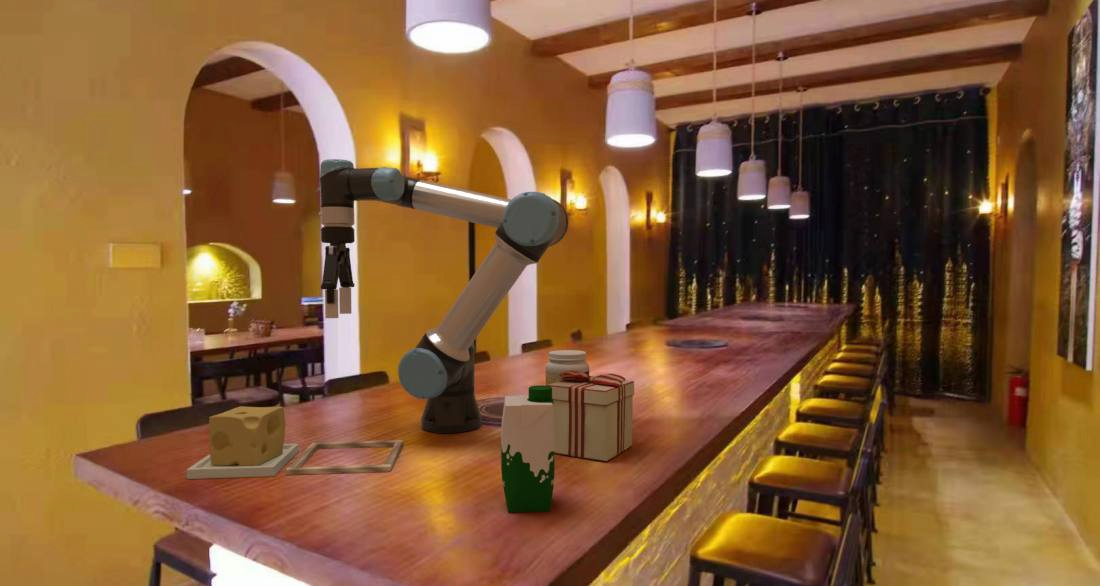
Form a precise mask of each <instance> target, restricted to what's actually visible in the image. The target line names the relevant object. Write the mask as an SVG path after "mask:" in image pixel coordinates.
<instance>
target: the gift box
mask: <svg viewBox="0 0 1100 586" xmlns="http://www.w3.org/2000/svg"><path fill="white" fill-rule="evenodd" d="M559 376H561V377H563V378H560V379H563V380H561V381H558V382H555V383H552V384H548V385H546V384H545V386H550V387H552V398H553V411H554V431H555V455H556V454H557V455H564V456H569V457H576V458H580V459H587V460H595V461H601V462H608V461H609V460H611V459H612V458H615V457H616V456H618V455H620V454H621V452H622V453H624V452H625V451H626V450H627V448H628V449H630V448H631V447H633V411H634V410H633V407H634V406H633V404H634V403H633V401H634V400H633V399H634V398H633V397H634V395H635V381H633V380H629V379H628V380H627V379H626V377H624V376H622V375H619V374H616V373H605V374H603V373H602V374H599V375H596V376H593V375H590V374H589V375H588V374H586V373H584V372H581V371H577V370H569V371H565V372H563V373H561V374H560V375H559ZM630 446H631V447H630ZM629 447H630V448H629ZM624 450H625V451H624Z"/></svg>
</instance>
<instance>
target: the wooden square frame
mask: <svg viewBox="0 0 1100 586" xmlns="http://www.w3.org/2000/svg"><path fill="white" fill-rule="evenodd" d="M403 446H404V440H403V439H398V440H397V439H394V440H393V439H391V440H390V439H389V440H361V441H360V440H359V441H358V440H357V441H354V440H353V441H321V442H320V441H319V442H318V441H317V442H312V443H310V445H308V446H307V448H306V449H304V451H303V452H301V454H300V455H299V456H298V457H296V459H294V461H293V462H292V463H291V464H290V465H288V466H287V468H285V470H284V472H285V476H297V475H302V476H303V475H325V474H326V475H329V474H331V475H332V474H334V475H335V474H357V473H358V474H361V473H365V474H366V473H387V472H389V473H390V472H391V471H392V469H393V467H394V465H395V463H396V461H397V459H398V457H399V454H400V452H401V451H402V448H403ZM378 447H379V448H385V447H386V448H388V447H389V448H390V447H392V448H391V451H390V452H389V454H388V455H387V458H386V459H385V462H384V463H383V464H361V465H359V464H358V465H357V464H355V465H329V466H327V465H326V466H325V465H324V466H303V465H305V463H306V462H307V461H308V460H309V459H310V458H311V457H312V456H313V455H314V453H315V452H316V451H317V450H319V449H321V450H322V449H351V448H355V449H357V448H358V449H359V448H378ZM302 466H303V467H302Z"/></svg>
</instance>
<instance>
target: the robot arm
mask: <svg viewBox="0 0 1100 586" xmlns="http://www.w3.org/2000/svg"><path fill="white" fill-rule="evenodd" d="M319 168H320V172H319V178H318V179H319V185H320V186H319V187H320V211H319V212H318V214H317V215H318V216H319V217H320V224H321V225H323V226H322V227H321V228H320V240H321V243H323V244H329V245H325V248H324V249H325V253H324V254H325V255H324V256H325V257H324V265H323V274H322V282H321V285H320V289H321V290H324V300H325V301H324V302H325V304H324V308H325V309H324V311H325V315H324V316H325V319H339V315H342V314H343V315H345V314H346V315H351V314H352V288H355V282H354V277H353V273H352V272H353V270H352V263H351V255H350V253H351V252H350V251H351V249H350V247H347V246H346V245H347V244H353V243H354V242H355V228H354V227H353V226H354V225H355V202H361V201H363V202H365V201H367V202H368V201H375V202H379V203H380V202H382V203H386V204H391V205H395V206H398V207H402V208H406V209H407V208H408V209H413V210H417V211H422V212H426V213H430V214H434V215H439V216H443V217H447V218H452V219H456V220H460V221H465V222H469V223H474V224H478V225H482V226H487V227H490V228H495V229H496V230H495V231H494V238H495V244H494V245H493V247H492V248H491V250H490V251H489V252H488V254H487V255H486V257H485V258H484V260H483V261H482V263H481V264H480V265H479V267H478V268H477V269H476V271H475V273H474V274H473V275H472V277H471V279H469V281H468V283H467V284H466V286H465V287H464V289H462V292H460V294H459V296H458V297H457V299H456V300H455V302H454V303H453V304H452V306H451V307H450V309H449V310H448V312H447V313H446V315H445V316H444V318H443V319H441V320H442V321H441V322H440V323H439V324H438V326H437V327H434V328H429V329H427V330H426V332H425V333H424V335H423V336H422V338H421V339H420V340H419V342H418V343H417V345H416V346H415V347H414V348H412V349H410V350H409V351H407V352H406V353H405V354H404V355H403V356H402V357H401V359H400V361H399V363H398V366H397V375H398V380H399V383H400V385H401V387H402V388H403V389H404V391H406V392H407V394H408V395H410V396H411V397H413V398H415V399H419V400H426V403H425V405H424V408H423V412H422V415H421V419H420V420H421V421H420V422H421V425H420V427H421V429H422V430H424V431H427V432H430V433H437V434H456V433H457V434H458V433H464V432H466V433H467V432H470V431H471V432H472V431H474V430H476V429H479V428H480V427H481V426H482V425H483V423H482V421H483V420H482V414H481V411H480V407H479V404H478V402H477V398H476V395H475V352H476V348H475V340H476V338H477V337H478V336H479V334H480V333H481V331H482V330H483V328H484V327H485V325H486V324H487V323H488V322H489V320H490V319H491V317H492V316H493V314H494V313H495V311H496V310H497V309H498V308H499V306H500V305H501V303H502V302H503V300H504V299H505V297H506V296H507V295H508V293H509V292H510V291H511V289H512V287H514V285H515V283H516V282H517V280H518V279H519V278H520V277H521V275H522V274H523V272H524V271H525V269H526V268H527V267H528V266H529V265H535V264H538V263H539V261H540V260H541V258H542V257H543V256H544V254H545V253H546V251H547V250H548V249H549V247H553V246H555V245H557V244H558V243H560V242H561V241H562V240H563V239H564V237H565V236H566V234H567V232H568V230H569V225H570V224H569V222H570V221H569V216H568V212H567V211H566V209H565V207H564V205H562V204H561V203H560V202H559V201H557V200H556V199H554V198H552V197H551V196H549V195H547V194H546V193H544V192H540V191H539V192H538V191H525V192H521V193H519V194H518V195H515V196H514V197H513V198H511V199H510V198H505V197H501V196H496V195H492V194H488V193H483V192H477V191H474V190H469V189H465V188H464V189H463V188H461V187H455V186H451V185H446V184H442V183H441V184H440V183H437V182H432V181H427V180H421V179H419V178H413V177H409V176H405V175H403V173H401V170H399V168H397V167H387V166H380V167H367V168H366V167H364V168H362V167H361V168H355V167H354V163H353V162H352V161H351V160H348V159H343V158H342V159H340V158H339V159H336V158H329V159H328V158H327V159H325V160H323V161H321V163H320V167H319ZM338 281H339V283H338ZM338 284H339V285H340V287H339V289H337V288H338Z"/></svg>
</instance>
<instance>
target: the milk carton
mask: <svg viewBox="0 0 1100 586" xmlns="http://www.w3.org/2000/svg"><path fill="white" fill-rule="evenodd" d="M501 416H502V418H501V427H500V428H501V429H500V443H501V444H500V462H501V463H500V467H501V468H500V471H501V480H502V487H503V493H504V498H505V503H506V508H507V509H506V510H507V513H510V514H511V513H535V512H538V513H539V512H551V510H552V501H553V496H554V495H553V494H554V492H553V491H554V485H555V470H556V469H555V467H556V463H555V462H556V461H555V460H556V459H555V455H556V453H555V431H554V411H553V398H552V387H550V386H546V385H544V384H543V385H541V384H540V385H539V384H538V385H531V386H529V387H528V395H527V394H520V395H511V396H509V395H508V396H507V395H506V396H504V403H503V410H502V415H501Z"/></svg>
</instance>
